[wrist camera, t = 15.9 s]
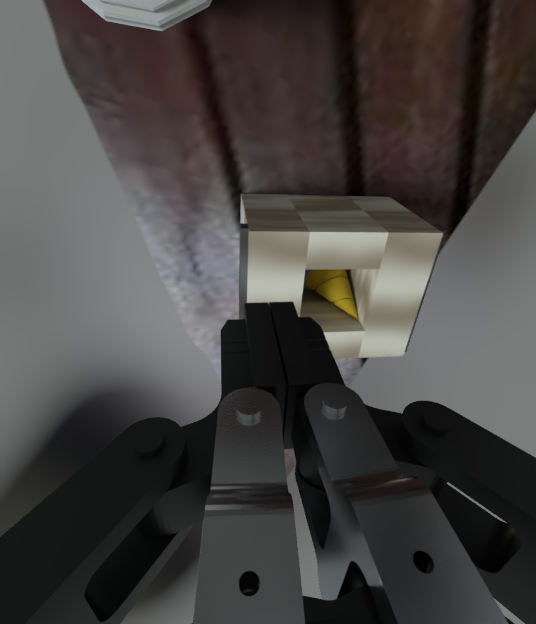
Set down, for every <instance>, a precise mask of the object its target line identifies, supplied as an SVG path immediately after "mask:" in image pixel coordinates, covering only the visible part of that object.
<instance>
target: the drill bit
mask: <svg viewBox="0 0 536 624" xmlns="http://www.w3.org/2000/svg"><path fill="white" fill-rule="evenodd" d="M303 287H304V288H305V289H308V290H314V291H316V292H317V293H318V294H320V295H321V296H323V297H324V298H326V299H327V300H329V301H330V302H334V304H335V305H336V306H338V307H339V308H341V309H342V310H344V311H345V312H347V313H348V314H349V315H352V316H353V317H354V318H355V319H357V320H358V314H357V311H356V307H355V303H354V299H353V295H352V291H351V288H350V284H349V280H348V276H347V272H346V269H308V270H305V277H304V285H303Z"/></svg>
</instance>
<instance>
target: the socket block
mask: <svg viewBox="0 0 536 624" xmlns="http://www.w3.org/2000/svg"><path fill="white" fill-rule="evenodd" d="M445 233H446V230H445V229H443V228H442V227H440V226H432V225H431V224H429V223H428V222H426V221H425V220H423V219H422V218H420V217H419V216H417V215H416V214H414V213H413V212H411V211H410V210H408V209H407V208H405V207H404V206H402V205H401V204H399V203H398V202H396V201H395V200H393V199H392V198H390V197H369V196H325V195H281V194H241V223H240V275H239V319H244V303H262V302H268V304H269V302H291V301H293V303H294V305H295V308H296V311H297V314H298V317H311V318H312V319H313V320H314V321H316V322H317V323H318V324H319V325H320V326H321V328H322V330H323V332H324V335H325V337H326V340H327V342H328V345H329V347H330V350H331V352H332V355H333V357H334V359H335V358H361V357H385V356H386V357H388V356H403V355H404V352H406V351H407V347H408V345H409V342H410V338H411V336H412V332H413V330H414V327H415V323H416V320H417V317H418V314H419V311H420V308H421V305H422V302H423V299H424V296H425V293H426V290H427V287H428V284H429V281H430V278H431V275H432V272H433V269H434V266H435V263H436V260H437V257H438V254H439V251H440V248H441V245H442V242H443V239H444V236H445ZM308 269H346V272H347V276H348V280H349V284H350V288H351V291H352V295H353V299H354V303H355V307H356V311H357V314H358V320H357V319H355V318H354V317H353V316H352V315H349V314H348V313H347V312H345V311H344V310H342V309H341V308H339V307H338V306H336V305H335V304H334V302H330V301H329V300H327V299H326V298H324V297H323V296H321V295H320V294H318V293H317V292H316V291H314V290H308V289H305V288H304V287H303V285H304V277H305V270H308Z"/></svg>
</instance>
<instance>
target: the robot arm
mask: <svg viewBox="0 0 536 624" xmlns="http://www.w3.org/2000/svg"><path fill="white" fill-rule="evenodd" d="M221 384H222V395H221V399H220V402H219V404H218V406H217V407H216V409H215V410H214V411H213V412H212V413H211V414H209V415H208V416H207V417H205V418H203V419H201V420H199V421H197V422H194V423H191V424H188V425H185V426H183V427H180V426H179V425H178V424H177V423H176V422H174V421H172V420H170V419H166V418H160V417H156V418H155V417H154V418H148V419H144V420H141V421H139V422H136V423H135V424H133V425H131V426H130V427H128V428H127V429H126V430H125V431H123V432H122V433H121V434H120V435H119V436H118V437H116V438H115V439H114V440H113V441H112V442H111V443H109V444H108V445H107V446H106V447H105V448H104V449H102V450H101V451H100V452H99V453H98V454H97V455H95V456H94V457H93V458H92V459H91V460H90V461H88V462H87V463H86V464H85V465H84V466H83V467H81V468H80V469H79V470H78V471H77V472H76V473H74V474H73V475H72V476H71V477H70V478H69V479H67V480H66V481H65V482H64V483H63V484H62V485H60V486H59V487H58V488H57V489H56V490H55V491H53V492H52V493H51V494H50V495H49V496H48V497H46V498H45V499H44V500H43V501H42V502H41V503H40V504H38V505H37V506H36V507H35V508H34V509H33V510H31V511H30V512H29V513H28V514H27V515H25V516H24V517H23V518H22V519H21V520H20V521H18V522H17V523H16V524H15V525H14V526H13V527H11V528H10V529H9V530H8V531H7V532H6V533H4V534H3V535H2V536H1V537H0V624H120V623H121V622H122V620H123V619H124V618H125V616H126V615H127V614H128V612H129V611H130V610H131V608H132V607H133V606H134V605H135V603H136V602H137V601H138V599H139V597H140V596H141V595H142V594H143V593H144V591H145V590H146V589H147V587H148V586H149V585H150V583H151V582H152V581H153V579H154V578H155V577H156V575H157V574H158V572H159V571H160V570H161V569H162V567H163V566H164V565H165V563H166V562H167V561H168V559H169V558H170V557H171V555H172V554H173V553H174V552H175V550H176V549H177V548H178V546H179V545H180V544H181V542H182V541H183V540H184V538H185V537H186V536H187V534H188V533H189V531H190V530H191V528H192V526H193V525H194V524H196V523H198V522H200V521H202V520H204V522H203V531H202V541H201V550H200V560H199V570H198V580H197V589H196V599H195V609H194V618H193V623H192V624H514V623H513V622H511V621H510V620H509V619H507V618H506V617H505V616H504V615H503V614H502V612H501V610H500V608H499V607H498V605H497V603H496V602H495V600H494V598H495V599H496V600H497V601H498V602H500V603H501V604H502V605H503V606H504V607H506V608H507V609H508V610H509V611H510V612H512V613H513V614H514V615H515V616H517V617H518V618H519V619H520V620H521V621H523V622H524V623H525V624H536V458H535V457H533V456H531V455H530V454H528V453H526V452H525V451H523V450H521V449H519V448H517V447H516V446H514V445H512V444H510V443H509V442H507V441H505V440H503V439H502V438H500V437H498V436H497V435H494V434H493V433H491V432H490V431H488V430H486V429H484V428H482V427H481V426H479V425H477V424H476V423H474V422H472V421H470V420H469V419H467V418H465V417H463V416H462V415H460V414H458V413H456V412H454V411H453V410H451V409H449V408H447V407H445V406H443V405H441V404H438V403H435V402H431V401H416V402H413V403H410V404H409V405H408V406H406V408H405V409H404V411H403V414H401V413H396V412H391V411H386V410H381V409H377V408H373V407H370V406H367V405H365V404H364V403H363V401H362V399H361V398H360V397H359V395H358V394H356V393H355V392H354V391H353V390H351V389H350V388H348V387H346V386H345V384H344V381H343V379H342V377H341V374H340V372H339V369H338V367H337V364H336V362H335V359H334V357H333V355H332V352H331V350H330V347H329V345H328V342H327V340H326V337H325V335H324V332H323V330H322V328H321V326H320V325H319V324H318V323H317V322H316V321H314V320H313V319H312V318H311V317H298V314H297V311H296V308H295V305H294V303H293V301H291V302H269V304H268V302H262V303H244V319H239V320H227V322H226V323H225V325H224V326H223V328H222V329H221ZM292 448H294V453H295V458H296V465H295V479H296V483H297V486H298V490H299V494H300V498H301V501H302V505H303V508H304V512H305V516H306V520H307V523H308V526H309V530H310V534H311V538H312V542H313V545H314V549H315V553H316V558H317V565H318V578H319V585H320V592H321V597H322V599H317V598H312V597H307V596H302V587H301V577H300V567H299V557H298V547H297V537H296V528H295V517H294V508H293V501H292V496H291V494H290V493H289V492H288V487H287V477H286V466H285V455H284V449H292ZM447 482H449V483H450V484H452V485H453V486H455V487H456V488H458V489H459V490H461V491H462V492H463V493H465V494H466V495H468V496H469V497H471V498H472V499H474V500H475V501H477V502H478V503H479V504H481V505H482V506H484V507H485V508H487V509H488V510H489V511H491V512H492V513H494V514H495V515H497V516H498V517H500V518H501V519H503V520H504V521H505V522H507V523H505V522H502V521H500V520H498V519H497V518H495V517H494V516H492V515H491V514H489V513H488V512H486V511H485V510H483V509H482V508H481V507H479V506H478V505H476V504H475V503H473V502H472V501H471V500H469V499H468V498H466V497H465V496H463V495H462V494H461V493H459V492H458V491H456V490H455V489H453V488H452V487H451V486H449V485H448V484H447Z"/></svg>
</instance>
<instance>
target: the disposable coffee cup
mask: <svg viewBox="0 0 536 624" xmlns="http://www.w3.org/2000/svg"><path fill="white" fill-rule="evenodd" d="M82 1H83V2H84V3H85V4H86V5H88V6H89V7H90V8H91V9H92V10H94V11H95V12H96V13H97V14H99V15H100V16H101V17H102V18H103V19H105V20H106V21H109V22H115V23H120V24H126V25H131V26H137V27H142V28H148V29H153V30H159V31H163V30H165V29H167V28H169V27H171V26H173V25H175V24H177V23H178V22H180V21H182V20H184V19H186V18H188V17H190V16H192V15H194V14H196V13H198V12H200V11H201V10H203V9H205V8H207V7H209V5H210V3H211V2H212V0H82Z"/></svg>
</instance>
